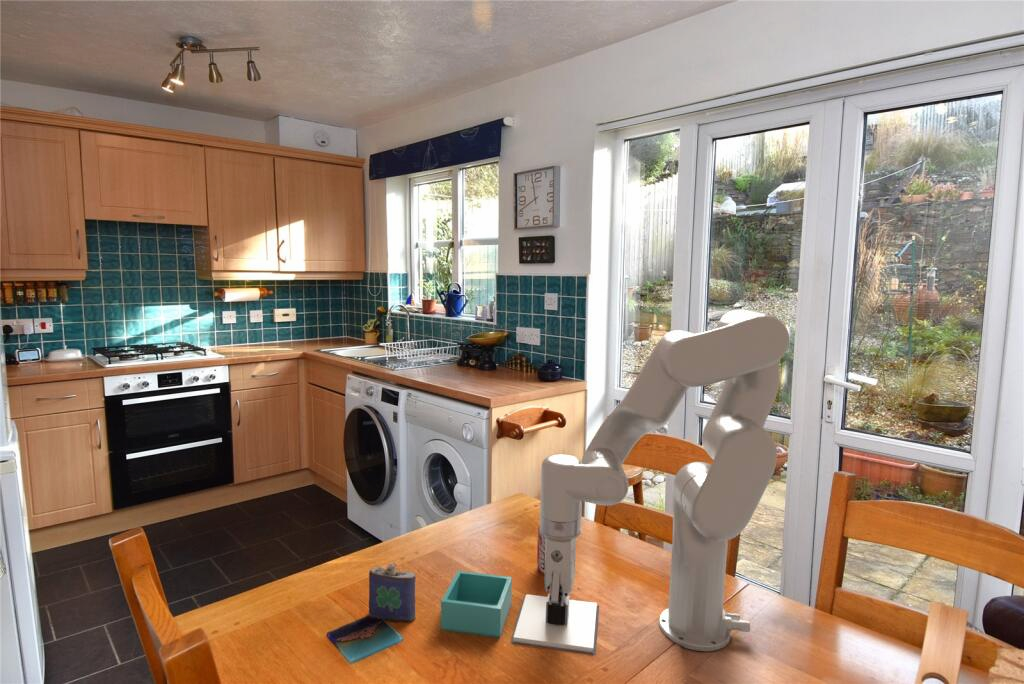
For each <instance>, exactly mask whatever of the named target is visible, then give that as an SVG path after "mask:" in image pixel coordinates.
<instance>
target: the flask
mask: <svg viewBox="0 0 1024 684" xmlns="http://www.w3.org/2000/svg"><path fill="white" fill-rule="evenodd" d="M387 564H388V565H387V566H386V567H387V568H385V567H382V566H381V565H379V566H375V567H374V566H373V567H372V568H370V569H369V573H368V581H369V582H368V585H369V586H368V588H369V589H368V592H369V593H368V614H369V615H368V616H369V617H370V616H372V617H375V618H380V619H382V620H381V621H383V620H384V621H386V622H395V623H403V624H404V623H412V622H414V620H415V619H416V574H415V572H413V571H403V570H402V571H399V570H396V566H397V563H395V562H392V563H387ZM372 617H371V618H372ZM375 618H374V619H375Z"/></svg>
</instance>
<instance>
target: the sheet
mask: <svg viewBox="0 0 1024 684" xmlns="http://www.w3.org/2000/svg"><path fill="white" fill-rule="evenodd" d="M525 596H526V597H525V600H524V603H523V607H522V610H521V614H520V617H519V620H518V624H517V627H516V630H515V634H514V637H513V641H514V642H522V643H529V644H536V645H543V646H550V647H558V648H565V649H572V650H579V651H586V652H593V647H594V635H595V622H596V609H597V605H598V602H593V601H592V602H591V601H586V600H585V601H584V600H576V599H570V595H568V596H565V597H564V603H566V611H565V624H564V625H557V624H549V623H548V622H547V618H548V601H549V592H548V594H547V596H545V595H544V596H542V595H536V594H526V595H525ZM559 596H561V595H559Z"/></svg>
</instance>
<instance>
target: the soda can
mask: <svg viewBox="0 0 1024 684" xmlns="http://www.w3.org/2000/svg"><path fill="white" fill-rule="evenodd" d="M537 529H538V531H537V556H536V557H537V559H536V563H537V564H536V565H537V571H538V572H539V573H540V574H541V575H542V576H545V540H546V537H545V536H543V535H542V534H541V533H540V524H539V525H538V528H537Z"/></svg>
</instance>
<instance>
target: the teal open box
mask: <svg viewBox="0 0 1024 684" xmlns="http://www.w3.org/2000/svg"><path fill="white" fill-rule="evenodd" d="M512 590H513V577H512V576H508V575H507V576H505V575H497V574H490V573H489V574H487V573H480V572H479V573H478V572H471V571H465V570H464V571H462V570H457V571H456V573H455V575H454V577H453V579H452V580H451V582H450V585H449V586H448V588H447V589H446V591H445V593H444V595H443V597H442V599H441V600H440V630H441V631H447V632H454V633H460V634H461V633H462V634H469V635H476V636H477V635H478V636H482V637H484V636H485V637H491V638H501V637H502V634H503V631H504V627H505V624H506V621H507V618H508V616H509V613H510V609H511V606H512V600H513V599H512V598H513V591H512Z"/></svg>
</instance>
